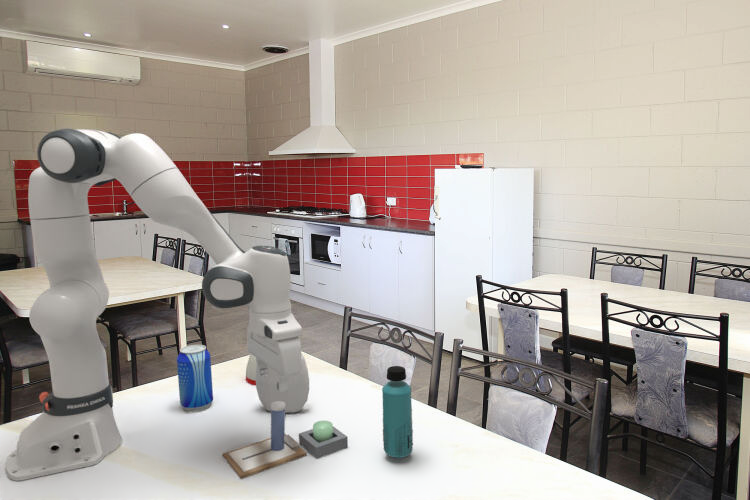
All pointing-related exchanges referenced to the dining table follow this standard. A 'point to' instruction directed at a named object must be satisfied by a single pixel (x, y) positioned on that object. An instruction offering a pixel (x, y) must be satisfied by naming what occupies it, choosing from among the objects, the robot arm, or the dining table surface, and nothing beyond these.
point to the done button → (322, 431)
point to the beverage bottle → (397, 414)
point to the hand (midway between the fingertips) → (272, 383)
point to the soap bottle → (292, 396)
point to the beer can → (194, 378)
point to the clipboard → (262, 456)
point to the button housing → (323, 443)
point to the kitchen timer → (251, 370)
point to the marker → (277, 425)
